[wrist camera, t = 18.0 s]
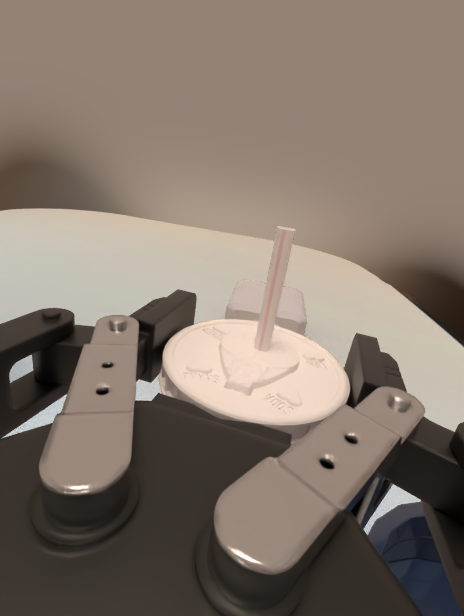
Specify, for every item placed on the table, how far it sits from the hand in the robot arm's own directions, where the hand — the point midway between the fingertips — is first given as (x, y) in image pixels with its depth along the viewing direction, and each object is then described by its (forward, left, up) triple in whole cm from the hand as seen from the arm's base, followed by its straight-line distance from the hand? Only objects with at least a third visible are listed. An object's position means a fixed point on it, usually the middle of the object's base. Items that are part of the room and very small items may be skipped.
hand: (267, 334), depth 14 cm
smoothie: (+1, -2, -10) cm, 10 cm away
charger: (-13, +21, -13) cm, 28 cm away
